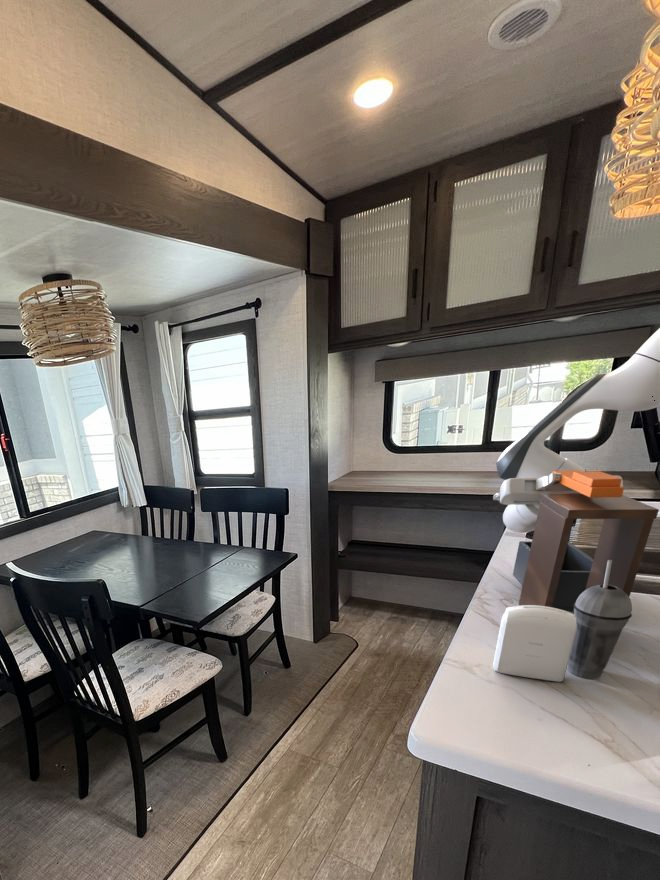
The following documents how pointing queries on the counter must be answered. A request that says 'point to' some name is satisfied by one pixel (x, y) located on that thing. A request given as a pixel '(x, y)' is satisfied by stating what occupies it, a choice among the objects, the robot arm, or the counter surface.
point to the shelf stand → (617, 543)
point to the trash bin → (570, 576)
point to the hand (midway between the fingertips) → (575, 476)
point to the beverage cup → (598, 627)
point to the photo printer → (535, 642)
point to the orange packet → (592, 483)
